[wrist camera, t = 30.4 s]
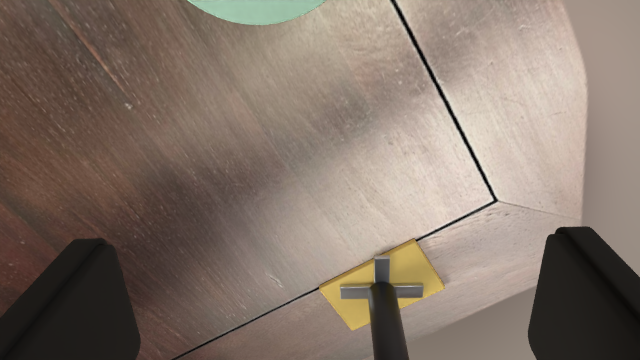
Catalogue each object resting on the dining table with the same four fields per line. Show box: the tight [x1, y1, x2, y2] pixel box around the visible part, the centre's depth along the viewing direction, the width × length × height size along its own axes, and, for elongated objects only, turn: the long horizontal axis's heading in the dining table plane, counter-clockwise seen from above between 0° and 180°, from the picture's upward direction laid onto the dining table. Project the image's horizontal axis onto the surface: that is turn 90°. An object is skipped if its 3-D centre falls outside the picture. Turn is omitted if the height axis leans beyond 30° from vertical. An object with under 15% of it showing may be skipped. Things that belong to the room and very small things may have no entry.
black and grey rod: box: [340, 255, 424, 360], centre depth 37 cm, size 8×8×12 cm
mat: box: [319, 239, 445, 331], centre depth 42 cm, size 10×6×1 cm, turn 123°
